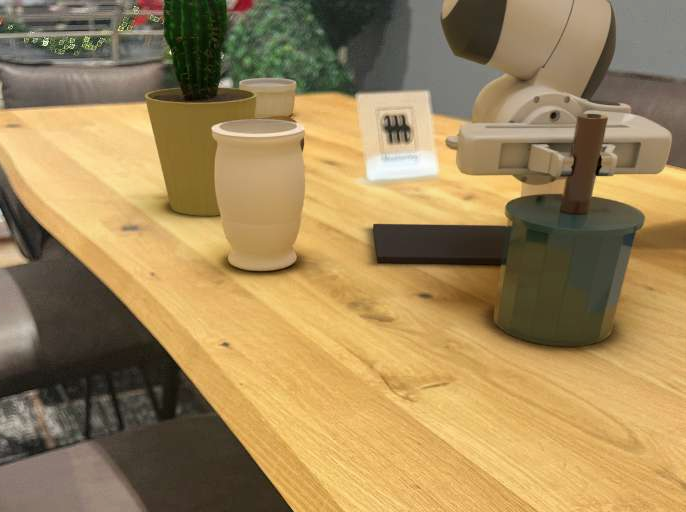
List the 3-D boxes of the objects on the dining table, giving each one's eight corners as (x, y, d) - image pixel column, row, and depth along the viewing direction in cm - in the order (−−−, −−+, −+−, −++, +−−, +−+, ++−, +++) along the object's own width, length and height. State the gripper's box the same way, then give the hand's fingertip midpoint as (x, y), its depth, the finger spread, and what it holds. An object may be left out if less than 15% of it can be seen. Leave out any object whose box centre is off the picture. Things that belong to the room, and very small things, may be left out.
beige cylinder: (561, 218, 109) (571, 166, 105) (512, 214, 111) (521, 162, 107) (564, 206, 114) (574, 156, 110) (518, 202, 116) (526, 152, 112)
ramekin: (275, 122, 171) (274, 87, 167) (228, 116, 177) (226, 82, 173) (307, 114, 180) (307, 80, 176) (262, 108, 186) (261, 76, 182)
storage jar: (593, 303, 82) (616, 202, 76) (626, 347, 73) (655, 236, 67) (485, 301, 83) (500, 200, 76) (504, 345, 73) (523, 234, 67)
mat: (505, 231, 104) (506, 225, 103) (525, 265, 92) (526, 258, 92) (372, 229, 104) (373, 223, 104) (377, 263, 93) (377, 256, 92)
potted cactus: (203, 226, 105) (183, -42, 87) (135, 205, 113) (104, -42, 96) (282, 205, 114) (278, -41, 96) (213, 187, 122) (198, -42, 105)
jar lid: (618, 206, 77) (642, 105, 72) (661, 245, 67) (693, 130, 61) (493, 205, 77) (507, 104, 72) (517, 243, 67) (535, 128, 62)
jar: (285, 280, 87) (283, 138, 79) (204, 269, 90) (194, 131, 82) (317, 253, 96) (318, 121, 87) (241, 243, 98) (236, 115, 90)
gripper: (444, 103, 77) (477, 128, 66) (641, 103, 78) (706, 127, 67) (438, 170, 81) (468, 204, 69) (626, 168, 82) (685, 202, 71)
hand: (587, 167), depth 68 cm, fingers closed on jar lid, 2 cm apart
